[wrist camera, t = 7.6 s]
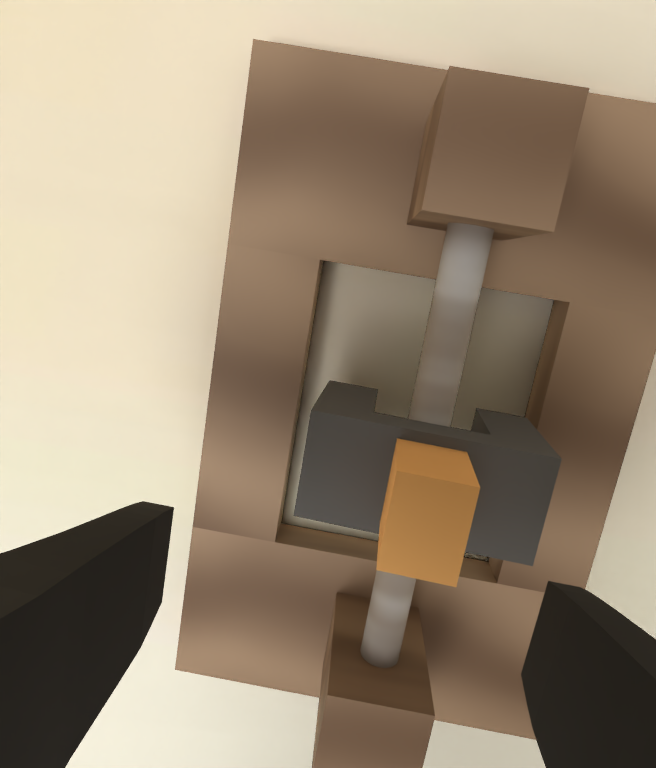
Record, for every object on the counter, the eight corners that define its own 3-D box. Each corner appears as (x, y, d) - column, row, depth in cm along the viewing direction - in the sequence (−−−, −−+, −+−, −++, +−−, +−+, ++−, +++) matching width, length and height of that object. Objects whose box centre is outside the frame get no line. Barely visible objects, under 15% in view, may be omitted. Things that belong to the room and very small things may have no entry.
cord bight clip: (505, 504, 19) (557, 622, 12) (315, 465, 19) (275, 559, 13) (526, 417, 18) (594, 496, 12) (329, 380, 19) (294, 436, 12)
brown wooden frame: (528, 709, 23) (591, 882, 16) (187, 643, 23) (119, 787, 17) (696, 126, 18) (877, 52, 12) (262, 56, 18) (206, -52, 12)
